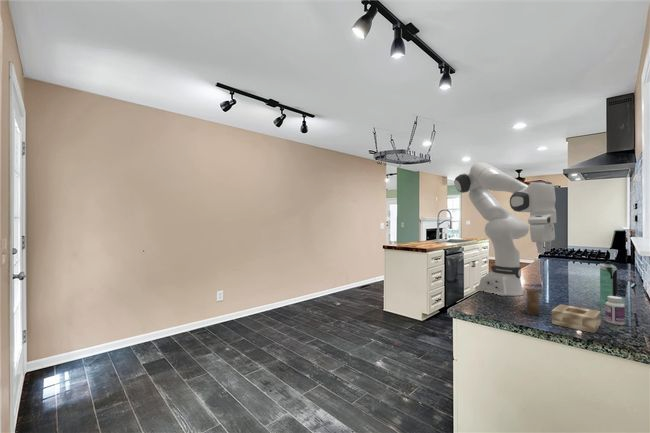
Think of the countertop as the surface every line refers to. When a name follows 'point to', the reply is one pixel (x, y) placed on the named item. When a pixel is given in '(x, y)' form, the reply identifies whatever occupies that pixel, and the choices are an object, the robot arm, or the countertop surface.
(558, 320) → the socket block
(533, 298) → the peg
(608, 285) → the spray can
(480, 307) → the countertop surface
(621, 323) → the pill bottle
